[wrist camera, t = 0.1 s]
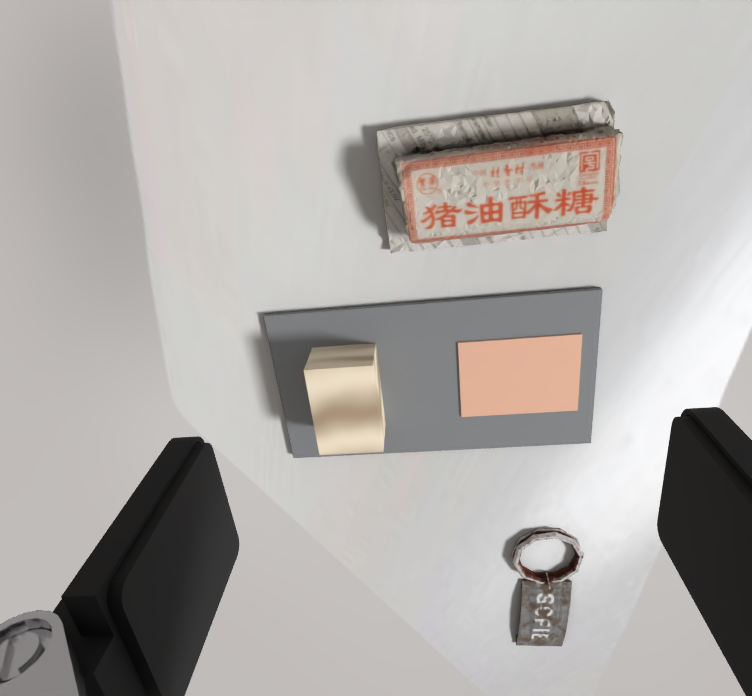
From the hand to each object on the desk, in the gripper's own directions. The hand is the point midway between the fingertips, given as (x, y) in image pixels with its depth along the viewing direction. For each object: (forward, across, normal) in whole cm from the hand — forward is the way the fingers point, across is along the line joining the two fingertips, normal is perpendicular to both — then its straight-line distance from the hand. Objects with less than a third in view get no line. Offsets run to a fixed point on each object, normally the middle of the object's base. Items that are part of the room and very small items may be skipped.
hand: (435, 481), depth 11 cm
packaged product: (+37, -6, 0) cm, 38 cm away
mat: (+37, 0, +18) cm, 41 cm away
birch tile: (+36, +8, +18) cm, 41 cm away
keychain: (+38, -11, +47) cm, 61 cm away
